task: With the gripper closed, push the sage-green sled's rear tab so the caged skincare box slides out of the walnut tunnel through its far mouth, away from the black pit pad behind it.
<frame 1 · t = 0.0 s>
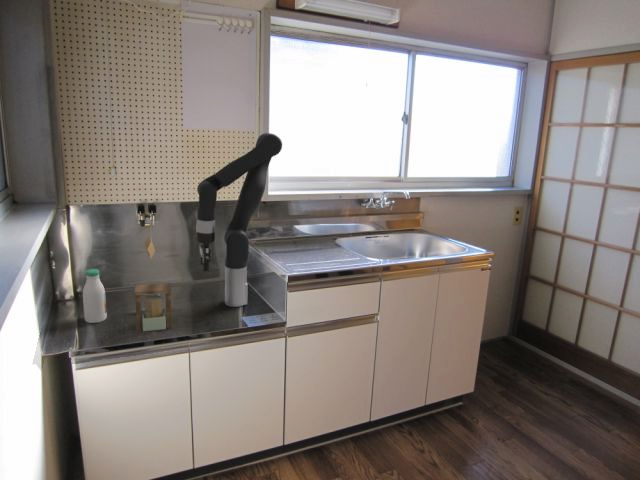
hand: (204, 267, 192), 17 cm above the worktop, tool pointing down, fingers open, 8 cm apart
milk bottle: (95, 319, 178), on the worktop
skincare box: (154, 326, 176), resting in sled
sled: (153, 310, 180), point 4 cm above the worktop, slide at 0.0 cm
pit pad: (153, 316, 184), on the worktop
tunnel: (154, 325, 176), on the worktop
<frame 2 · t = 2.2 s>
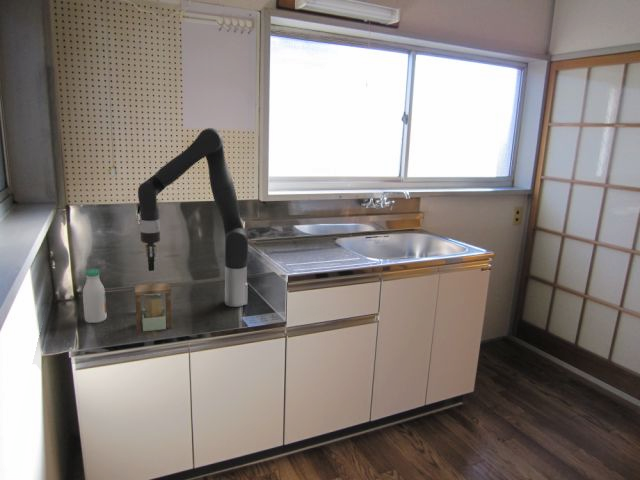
hand: (151, 270, 191), 15 cm above the worktop, tool pointing down, fingers closed
nothing on the worktop moved.
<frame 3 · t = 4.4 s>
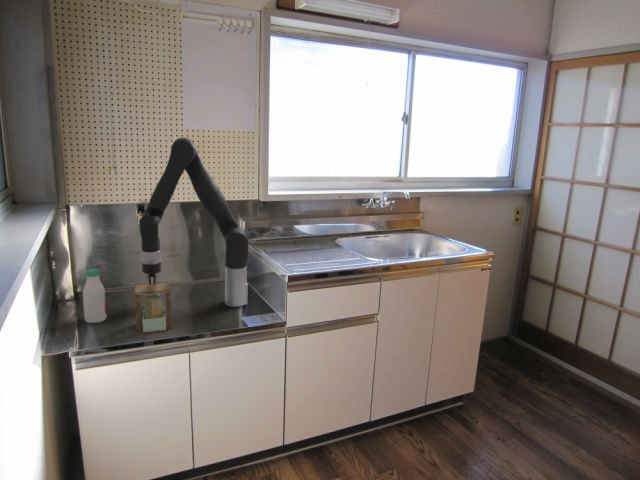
hand: (152, 299, 192), 3 cm above the worktop, tool pointing down, fingers closed
skincare box: (154, 327, 175), resting in sled
sled: (153, 310, 179), point 4 cm above the worktop, slide at 0.8 cm, touching gripper, skincare box
everything else where it was.
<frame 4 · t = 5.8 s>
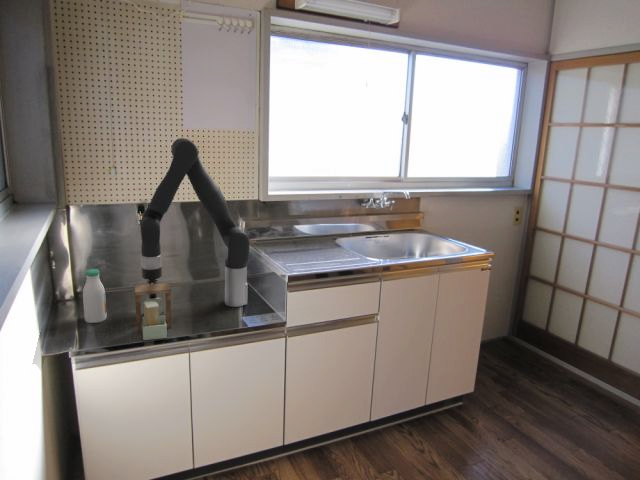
hand: (153, 305, 186), 3 cm above the worktop, tool pointing down, fingers closed
skincare box: (152, 334, 169), resting in sled
sled: (153, 317, 174), point 4 cm above the worktop, slide at 7.1 cm, touching gripper, hand, skincare box
everything else where it was.
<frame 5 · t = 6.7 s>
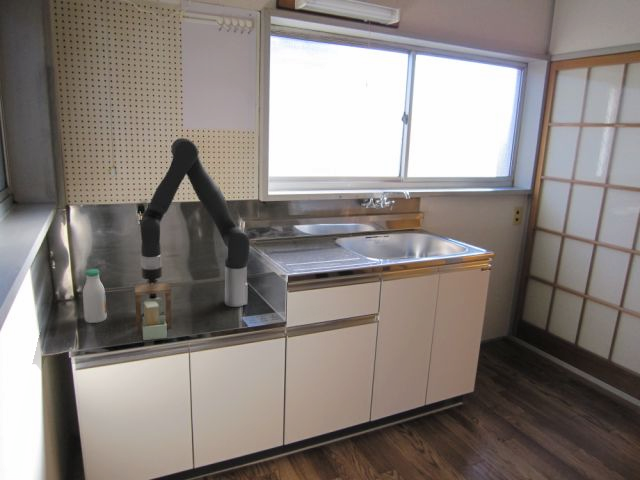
hand: (153, 305, 186), 3 cm above the worktop, tool pointing down, fingers closed
skincare box: (152, 334, 169), resting in sled
sled: (153, 317, 174), point 4 cm above the worktop, slide at 7.1 cm, touching gripper
everything else where it was.
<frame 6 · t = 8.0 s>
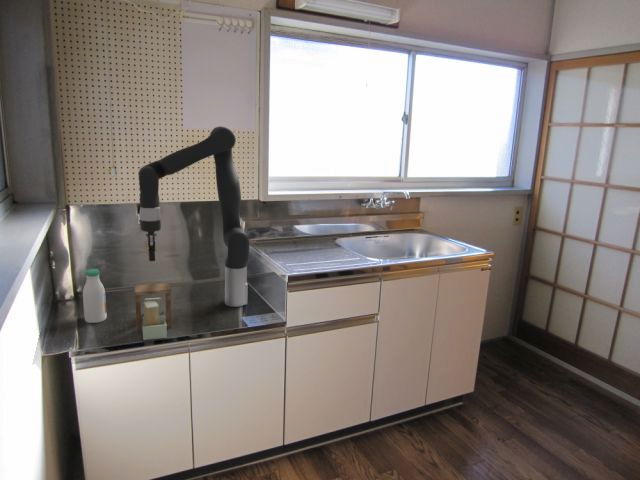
hand: (152, 260, 182), 22 cm above the worktop, tool pointing down, fingers closed
sled: (153, 317, 174), point 4 cm above the worktop, slide at 7.0 cm
everything else where it was.
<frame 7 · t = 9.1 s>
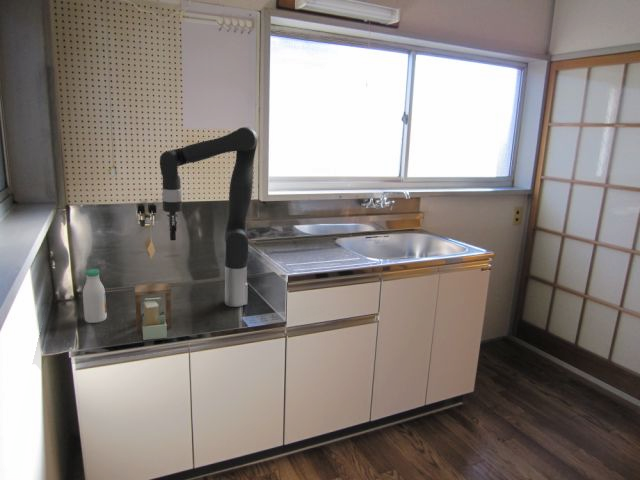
hand: (172, 239, 194), 27 cm above the worktop, tool pointing down, fingers closed
nothing on the worktop moved.
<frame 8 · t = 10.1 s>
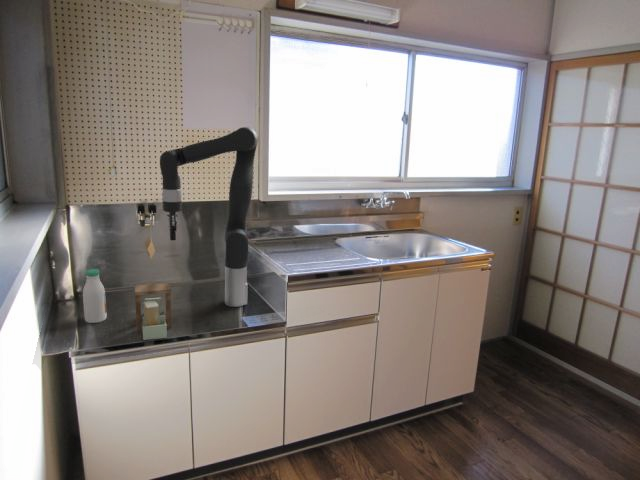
hand: (172, 239, 194), 27 cm above the worktop, tool pointing down, fingers closed
nothing on the worktop moved.
at the end: sled slide at 7.0 cm; skincare box inside the target area (1.2 cm from its centre), resting in sled; skincare box tilted 0° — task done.
